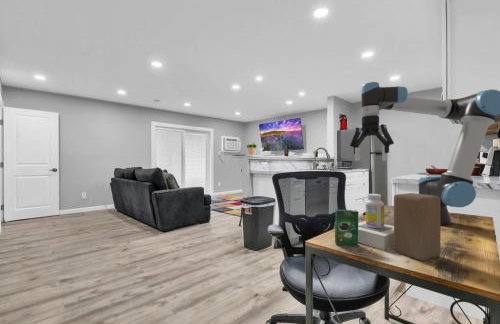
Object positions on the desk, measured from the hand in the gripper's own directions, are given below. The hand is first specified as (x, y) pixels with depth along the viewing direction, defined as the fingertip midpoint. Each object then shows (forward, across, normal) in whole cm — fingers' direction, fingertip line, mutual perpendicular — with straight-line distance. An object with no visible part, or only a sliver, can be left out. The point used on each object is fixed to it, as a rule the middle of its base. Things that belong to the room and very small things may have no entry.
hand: (370, 160), depth 116 cm
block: (+32, +28, -20) cm, 47 cm away
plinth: (+32, +12, -17) cm, 38 cm away
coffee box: (+32, +9, -31) cm, 45 cm away
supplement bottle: (+26, +12, -17) cm, 34 cm away
